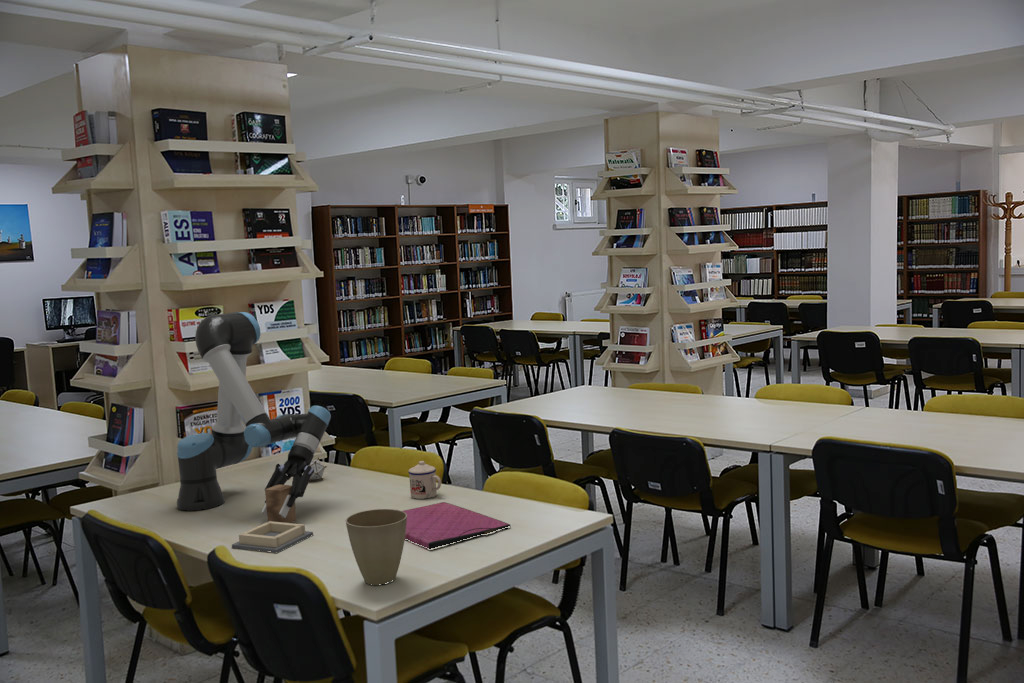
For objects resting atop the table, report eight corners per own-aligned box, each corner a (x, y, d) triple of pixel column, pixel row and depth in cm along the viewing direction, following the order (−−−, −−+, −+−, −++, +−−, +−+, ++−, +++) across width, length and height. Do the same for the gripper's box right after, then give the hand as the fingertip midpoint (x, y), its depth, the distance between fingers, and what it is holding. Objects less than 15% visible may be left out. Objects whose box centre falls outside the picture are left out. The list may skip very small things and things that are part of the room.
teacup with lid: (404, 497, 291) (402, 463, 289) (421, 491, 298) (419, 457, 297) (432, 501, 284) (430, 466, 283) (449, 494, 291) (447, 460, 290)
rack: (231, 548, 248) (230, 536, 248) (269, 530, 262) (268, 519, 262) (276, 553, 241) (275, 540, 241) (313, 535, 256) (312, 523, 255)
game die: (319, 490, 321) (322, 472, 315) (297, 483, 321) (299, 465, 315) (327, 473, 328) (330, 455, 322) (305, 466, 328) (308, 448, 322)
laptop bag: (366, 512, 264) (443, 495, 280) (367, 525, 265) (443, 507, 281) (436, 541, 232) (518, 520, 248) (437, 555, 233) (518, 534, 249)
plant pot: (376, 596, 206) (371, 530, 204) (337, 583, 216) (333, 520, 214) (423, 577, 217) (419, 514, 215) (384, 565, 227) (380, 505, 225)
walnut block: (267, 524, 269) (265, 489, 268) (280, 518, 274) (278, 484, 273) (283, 526, 266) (280, 490, 265) (296, 520, 272) (293, 485, 271)
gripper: (333, 457, 279) (304, 523, 265) (285, 455, 287) (255, 518, 274) (321, 445, 273) (292, 511, 260) (273, 442, 281) (242, 506, 268)
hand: (273, 514), depth 267 cm, fingers closed on walnut block, 6 cm apart
